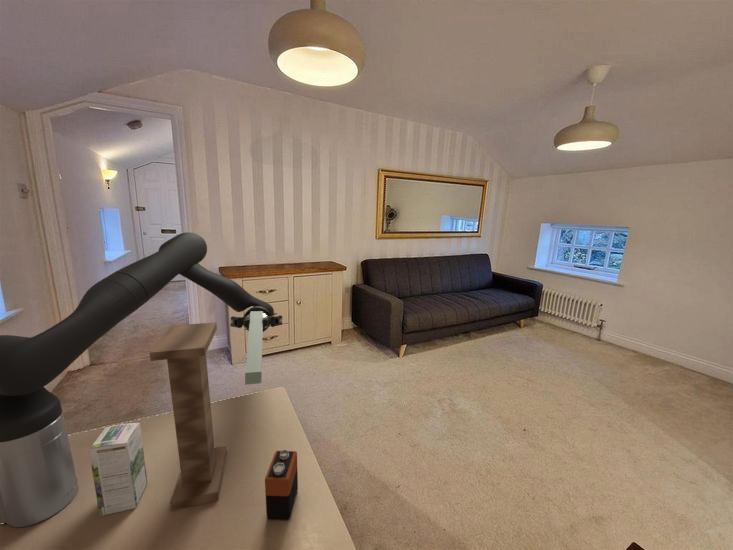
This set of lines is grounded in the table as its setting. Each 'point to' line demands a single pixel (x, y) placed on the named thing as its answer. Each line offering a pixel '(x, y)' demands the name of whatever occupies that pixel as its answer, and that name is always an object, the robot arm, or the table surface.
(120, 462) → the syrup box
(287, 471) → the battery
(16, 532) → the table surface
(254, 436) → the table surface
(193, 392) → the stand
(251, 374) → the peg
